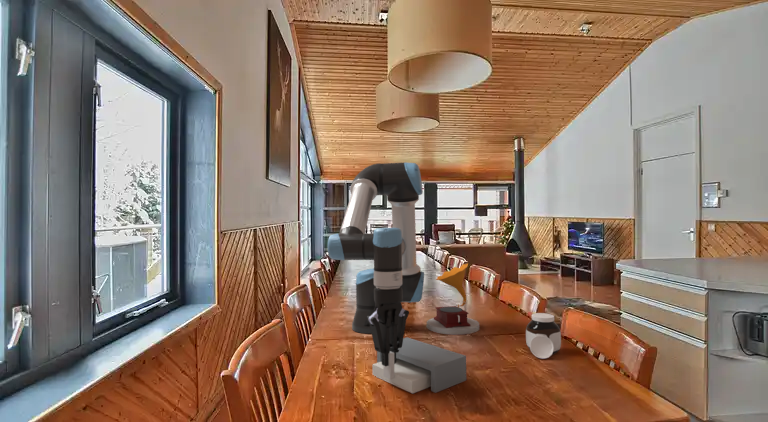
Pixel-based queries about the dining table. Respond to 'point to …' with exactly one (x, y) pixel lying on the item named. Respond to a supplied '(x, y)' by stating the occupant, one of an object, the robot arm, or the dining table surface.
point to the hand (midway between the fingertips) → (389, 377)
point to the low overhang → (433, 362)
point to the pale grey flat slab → (405, 376)
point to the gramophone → (453, 308)
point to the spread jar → (543, 335)
